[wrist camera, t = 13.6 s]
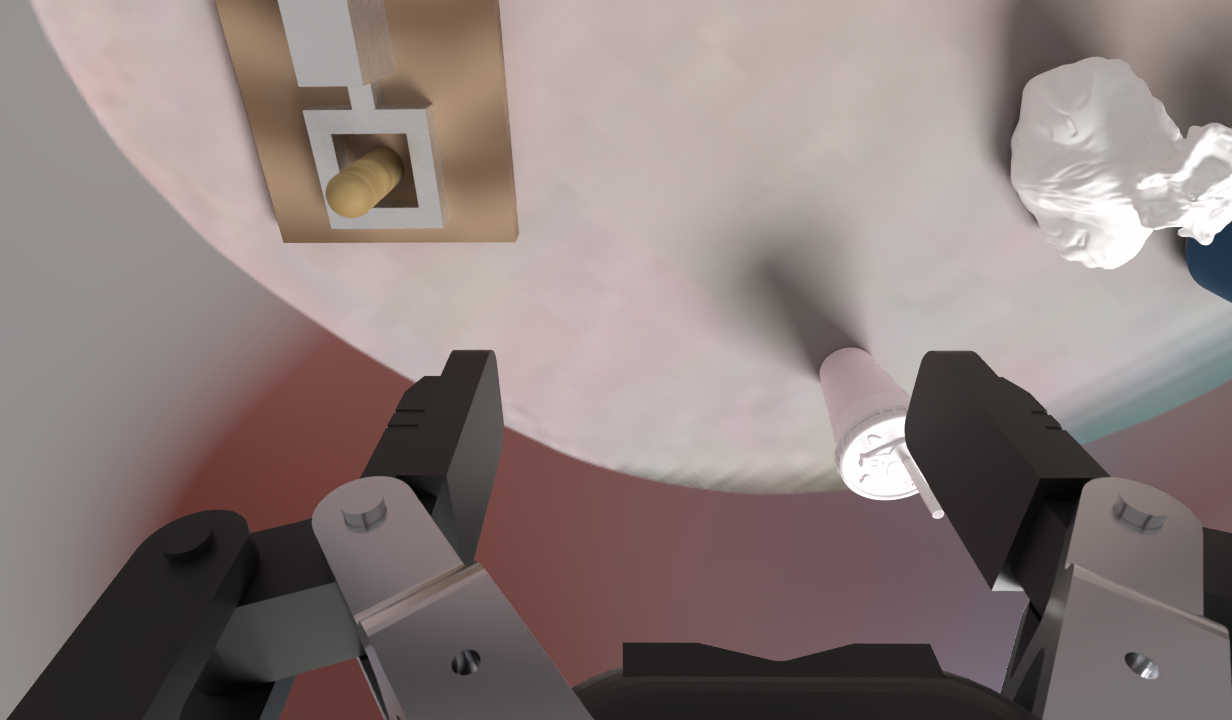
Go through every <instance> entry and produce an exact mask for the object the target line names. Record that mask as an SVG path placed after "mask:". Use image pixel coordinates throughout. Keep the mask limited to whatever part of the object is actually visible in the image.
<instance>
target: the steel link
mask: <svg viewBox="0 0 1232 720" xmlns="http://www.w3.org/2000/svg"><path fill="white" fill-rule="evenodd" d="M278 4H279V8H280V12H281V16H282V20H283V25H284V29H285V33H286V37H287V41H288V45H289V49H290V53H291V57H292V61H293V65H294V70H295V74H296V78H297V82H298V86H299V87H328V86H347V87H348V92H349V97H350V101H351V105H314V106H311V107H309V108H307V109H304V110H302V111H303V115H304V119H305V123H306V127H307V131H308V135H309V139H310V143H311V147H312V151H313V155H314V159H315V163H316V168H317V172H318V176H319V180H320V184H321V188H322V192H323V196H324V200H325V204H326V208H327V212H328V216H329V220H330V225H331V229H405V228H444V227H445V225H446V224H447V223H448V221H449V220H450V216H449V209H448V202H447V195H446V189H445V182H444V175H443V168H442V161H441V155H440V148H439V141H438V134H437V127H436V120H435V114H434V107H433V104H385V101H384V96H383V90H382V85H381V78H383V77H386V76H388V75H390V74H393V73H395V72H396V68H395V62H394V56H393V50H392V44H391V39H390V33H389V27H388V21H387V15H386V9H385V3H384V0H278ZM344 134H406V135H407V140H408V146H409V152H410V158H411V164H412V170H413V176H414V182H415V187H416V193H417V199H381V200H380V201H379V202H378V203H377V204H376V205H375V206H374V207H373V208H372V209H371V210H369V211H368V212H367V213H366V214H365V215H363V216H361V217H358V218H345V217H342V216H340V215H338V214H337V213H335V212H334V211H333V210H332V209H331V208H330V206H329V204H328V202H327V200H326V187H327V184H328V182H329V181H330V180H331V179H332V178H333V177H334V176H335V175H337V174H338V173H340V172H341V171H342V170H344V169H345V168H347V167H348V166H350V161H349V157H348V152H347V148H346V143H345V138H344Z"/></svg>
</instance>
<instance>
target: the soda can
mask: <svg viewBox="0 0 1232 720" xmlns="http://www.w3.org/2000/svg"><path fill="white" fill-rule="evenodd" d="M1185 255H1186V261H1187V265H1188V269H1189V271H1190V274H1191V276H1192V277H1193V279H1194V280H1195V281H1196V282H1197V283H1198V284H1199V285H1200V286H1202V287H1203V288H1205V289H1207V290H1209V291H1211V292H1213V293H1214V294H1216V295H1218V296H1220V297H1222V298H1224V299H1226V300H1227V301H1229V302H1231V303H1232V221H1231V222H1230V223H1229V224H1227V225H1226V226H1225V227H1224V228H1223V229H1222V230H1221V231H1220V232H1218V233H1216V234H1215V235H1214V238H1213V241H1212V242H1211V243H1210V244H1209V245H1202V244H1200V243H1199V242H1198V241H1197V240H1196V239H1194V238H1192V237H1187V238H1186V242H1185Z"/></svg>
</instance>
